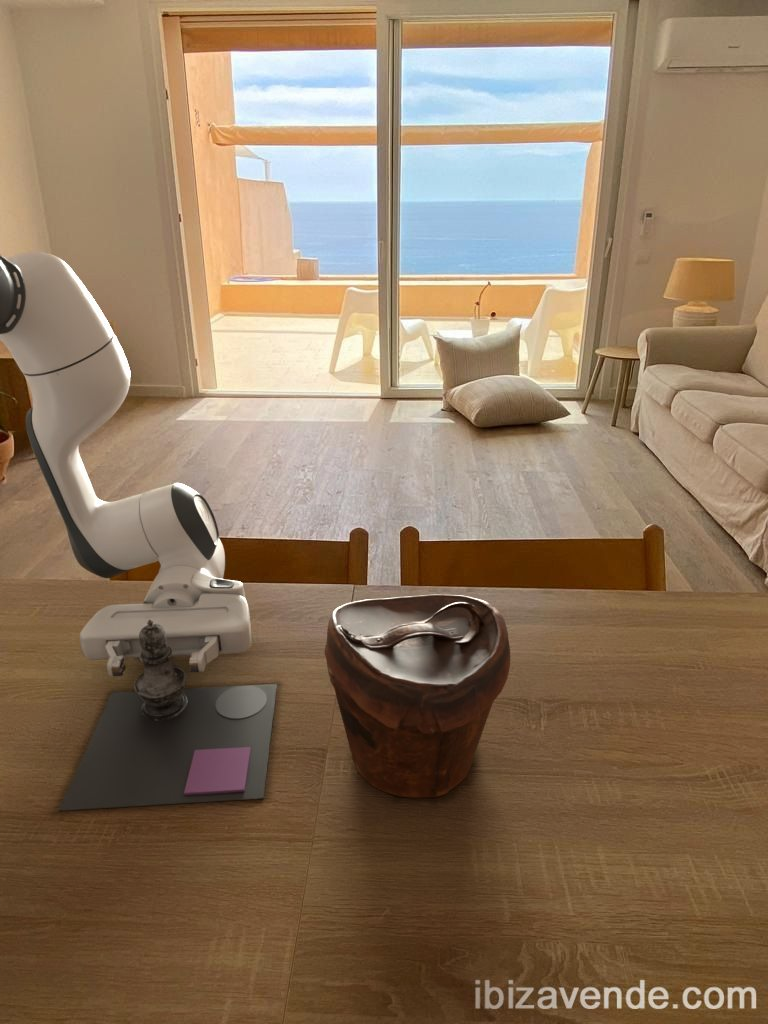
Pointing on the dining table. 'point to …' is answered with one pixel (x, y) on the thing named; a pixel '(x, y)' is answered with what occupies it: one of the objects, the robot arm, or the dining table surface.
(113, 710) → the mat
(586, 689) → the dining table surface
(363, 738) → the brown pot
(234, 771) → the pink square tile
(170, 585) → the robot arm
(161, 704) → the chess piece
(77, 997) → the dining table surface
